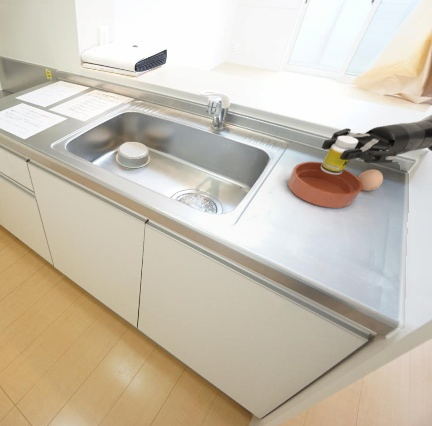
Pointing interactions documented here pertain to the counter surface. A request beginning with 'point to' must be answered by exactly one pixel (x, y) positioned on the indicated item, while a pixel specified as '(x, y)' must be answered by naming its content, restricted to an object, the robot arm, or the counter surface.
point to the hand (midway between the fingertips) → (333, 150)
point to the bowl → (324, 185)
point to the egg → (371, 179)
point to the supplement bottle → (338, 155)
